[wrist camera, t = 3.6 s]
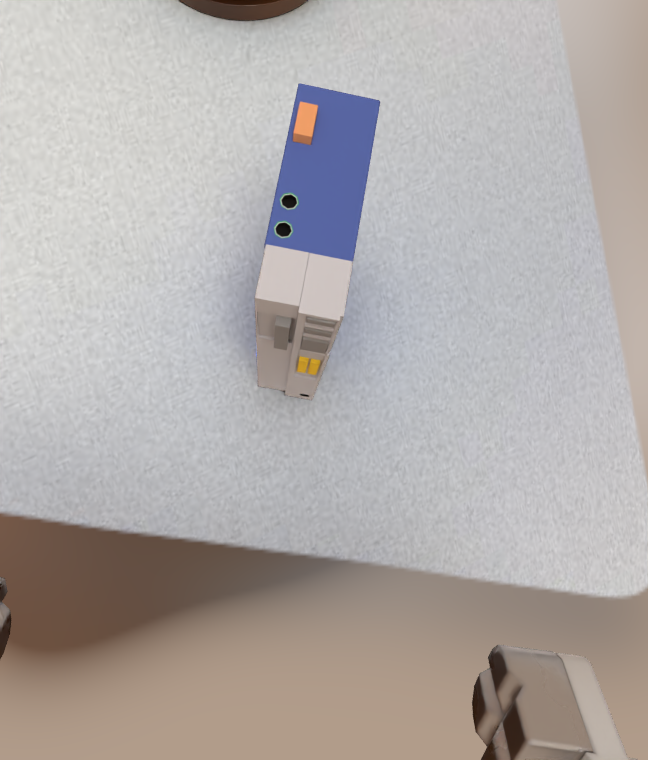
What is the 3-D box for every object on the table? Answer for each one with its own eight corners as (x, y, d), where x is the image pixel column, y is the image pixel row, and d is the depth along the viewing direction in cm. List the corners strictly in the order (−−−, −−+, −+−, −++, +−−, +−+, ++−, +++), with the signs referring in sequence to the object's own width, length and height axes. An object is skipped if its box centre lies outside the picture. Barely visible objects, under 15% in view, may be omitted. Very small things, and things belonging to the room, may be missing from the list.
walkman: (284, 243, 31) (297, 74, 19) (338, 254, 31) (383, 92, 19) (254, 391, 29) (249, 302, 17) (312, 402, 29) (344, 320, 17)
